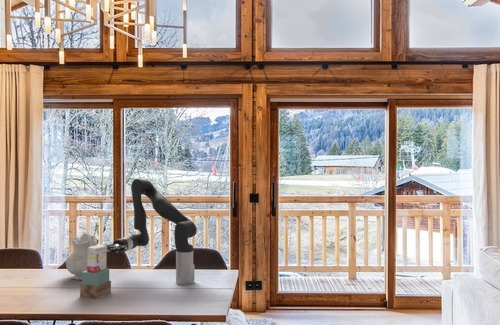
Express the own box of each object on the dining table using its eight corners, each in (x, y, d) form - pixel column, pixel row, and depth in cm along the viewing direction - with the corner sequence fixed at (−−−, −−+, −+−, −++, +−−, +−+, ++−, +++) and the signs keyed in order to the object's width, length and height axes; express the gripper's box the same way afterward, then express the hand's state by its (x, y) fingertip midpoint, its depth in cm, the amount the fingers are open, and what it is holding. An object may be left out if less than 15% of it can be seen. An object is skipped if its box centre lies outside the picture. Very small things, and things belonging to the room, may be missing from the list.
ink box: (94, 272, 189) (95, 248, 189) (86, 271, 191) (86, 247, 191) (106, 268, 197) (107, 245, 197) (99, 267, 199) (99, 244, 199)
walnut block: (110, 292, 196) (111, 280, 197) (97, 299, 187) (97, 286, 187) (94, 290, 199) (94, 279, 200) (80, 296, 190) (80, 284, 190)
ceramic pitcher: (111, 278, 226) (114, 235, 228) (80, 284, 209) (84, 236, 211) (87, 273, 237) (91, 231, 239) (57, 278, 221) (61, 233, 223)
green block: (109, 281, 196) (109, 269, 196) (97, 286, 188) (97, 273, 188) (93, 279, 199) (94, 267, 199) (81, 284, 190) (81, 272, 190)
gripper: (111, 237, 216) (91, 242, 201) (134, 238, 212) (115, 244, 197) (111, 251, 216) (91, 257, 201) (134, 252, 212) (115, 259, 196)
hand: (103, 250), depth 199 cm, fingers open, 8 cm apart
